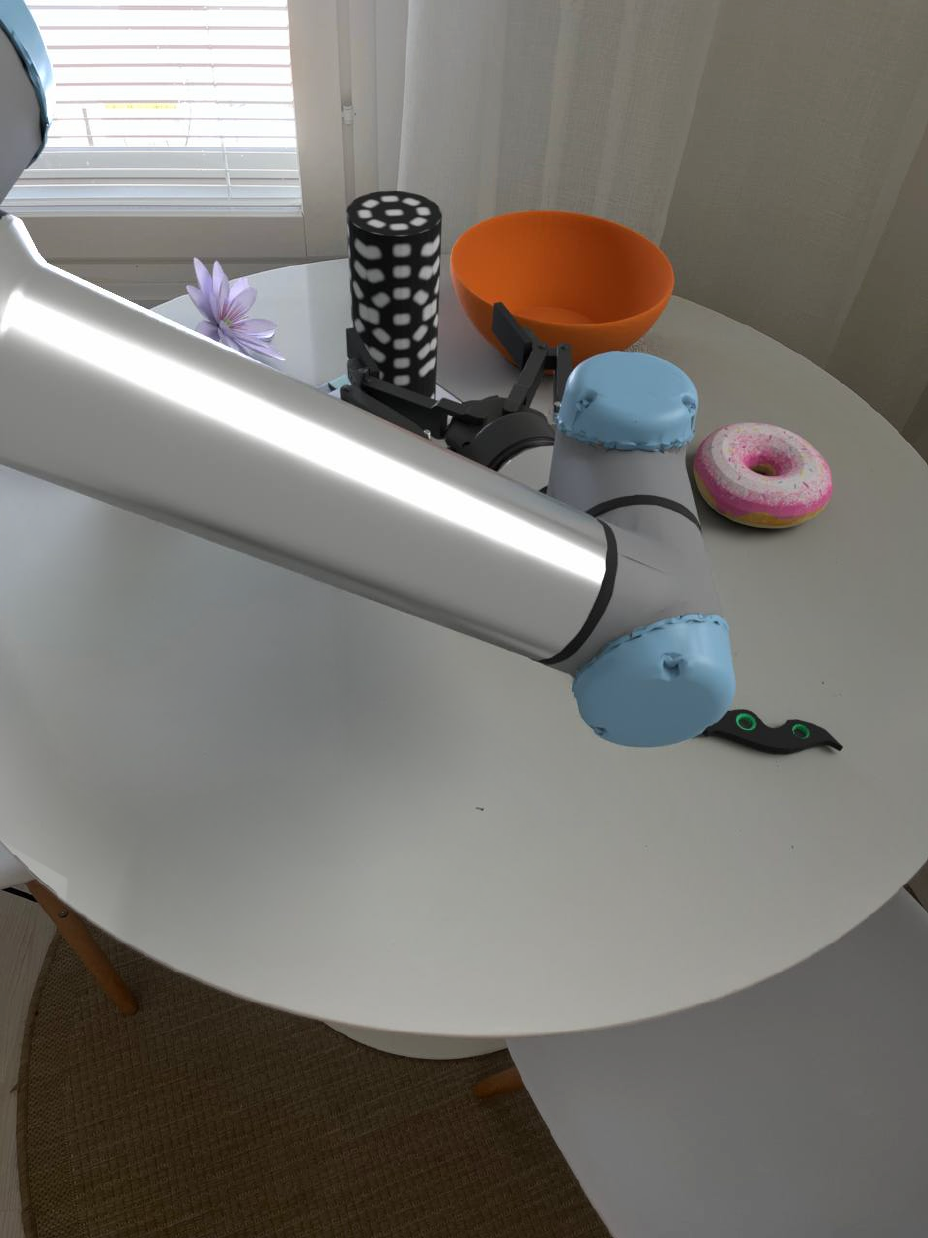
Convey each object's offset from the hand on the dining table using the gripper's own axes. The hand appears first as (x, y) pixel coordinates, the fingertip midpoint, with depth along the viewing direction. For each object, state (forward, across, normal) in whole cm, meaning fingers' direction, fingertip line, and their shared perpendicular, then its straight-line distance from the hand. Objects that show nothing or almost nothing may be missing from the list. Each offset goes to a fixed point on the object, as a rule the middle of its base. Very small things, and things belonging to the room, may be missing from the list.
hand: (425, 328), depth 79 cm
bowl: (+18, +23, -17) cm, 34 cm away
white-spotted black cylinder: (+8, 0, -14) cm, 16 cm away
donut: (-14, +31, -17) cm, 38 cm away
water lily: (+25, -12, -17) cm, 33 cm away
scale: (+9, 0, -17) cm, 19 cm away
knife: (-34, +11, -17) cm, 40 cm away
